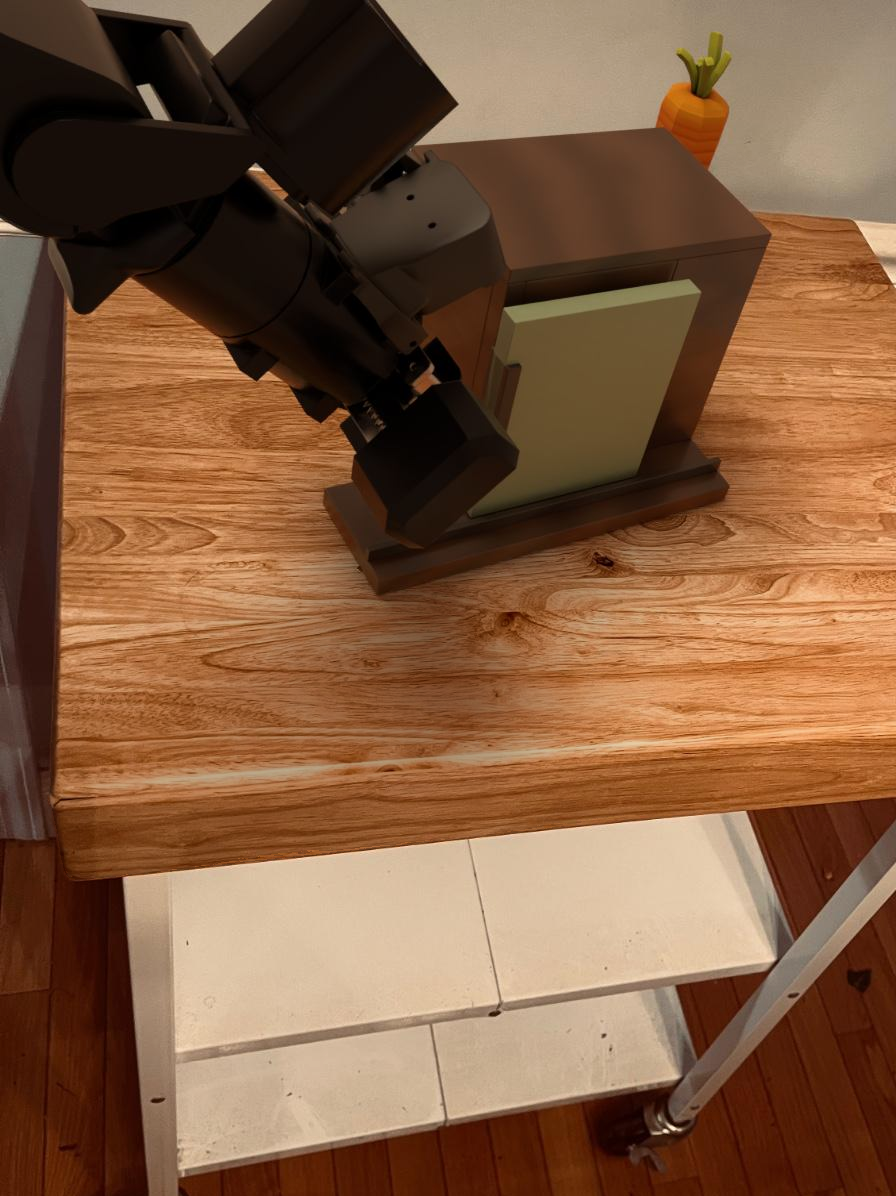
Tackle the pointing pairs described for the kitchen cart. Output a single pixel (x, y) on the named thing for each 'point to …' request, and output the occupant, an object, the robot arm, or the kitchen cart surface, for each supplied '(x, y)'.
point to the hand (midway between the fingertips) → (459, 432)
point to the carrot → (698, 103)
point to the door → (582, 386)
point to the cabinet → (574, 268)
